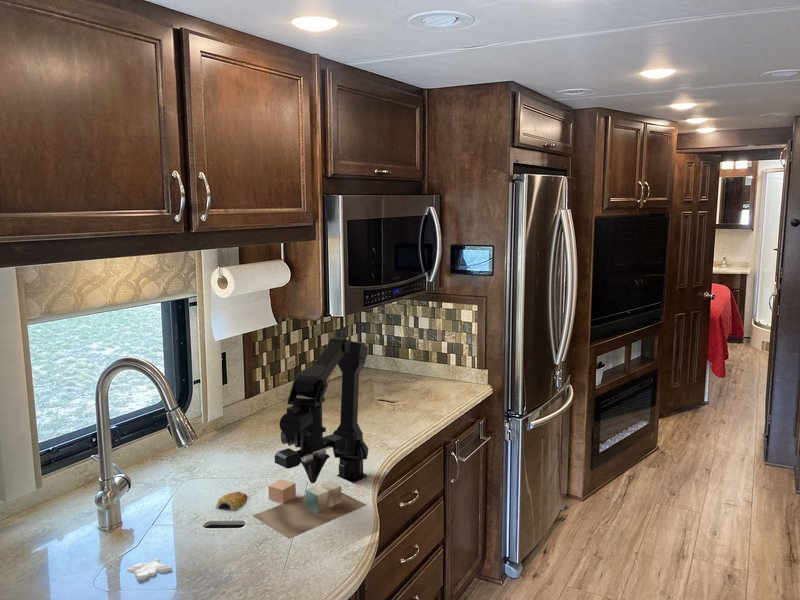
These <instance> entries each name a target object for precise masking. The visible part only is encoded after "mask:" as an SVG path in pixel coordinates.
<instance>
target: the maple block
mask: <svg viewBox="0 0 800 600" xmlns="http://www.w3.org/2000/svg"><path fill="white" fill-rule="evenodd" d="M341 492H342V485H340V484H338V483H336V482H334V481H332V480H329V481H327V482H324V483H321V484H318V485H315V486H313V487H310V488H308V489H306V490H305V495H306V507H307V508H309V509H311V510H313V511H315V512H316V513H317V512H320V511H322V510H324V509H327V508H329V507H332V506H334V505H336V504H339V503H341Z"/></svg>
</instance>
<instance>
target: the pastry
mask: <svg viewBox="0 0 800 600" xmlns="http://www.w3.org/2000/svg"><path fill="white" fill-rule="evenodd" d="M247 495H248V494H246V493H244V492H241V491H235V492H231V493H227V494H224V495H222V497H220V498H218V499H217V502H216V505H215V506H214V509H217V510H219V509H220V510H222V509H223V510H226V509H227V510H228V509H230V511H237V510H238V509H240V508H242V507H243V506H244V505H245V503H246V501H247V499H248V496H247Z"/></svg>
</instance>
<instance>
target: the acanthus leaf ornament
mask: <svg viewBox="0 0 800 600" xmlns="http://www.w3.org/2000/svg"><path fill="white" fill-rule="evenodd" d="M160 562H161V560H160V559H159V558H156V557H155V558H154V559H153V560H152V561H151V562H146V563H145V562H143V563H142V562H141V563H136V564H134V565H132V567H128V568H127V569H126V571H127V572H130V573H134V575H135V576H136V577H135V578H138V581H140V582H141V580H142V581H145V580H146V578H147V579H149V578H150V577H151V576H152V577H154V575H155V574H157V573H160V574H164V572H165V573H168V572H172V571H173V567H172V566H168V564H166V563H165V564H164V563H160ZM155 576H156V575H155ZM148 577H149V578H148Z"/></svg>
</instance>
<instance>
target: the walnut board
mask: <svg viewBox="0 0 800 600" xmlns="http://www.w3.org/2000/svg"><path fill="white" fill-rule="evenodd" d="M365 506H367V503H364V502H362V501H360V500H358V499H356V498H354V497H352V496H350V495H348V494H346V493H344V492H342V491H341V503H339V504H336V505H334V506H332V507H329V508H327V509H324V510H322V511H320V512H317V513H316V512H315V511H313V510H311V509H309V508H307V507H306V494H303V495H302V496H299V497H297V498H296V497H295V498H293V499H291V500H289V501H287V502H285V503H284V504H283V503H280V504H279V505H276V506H273V507H270V508H269V509H266V510H264V511H261V512H258V513H256V514H253V515H252V517H254V518H255V519H257V520H258V521H260V522H261V523H263V524H265V525H266V526H268V527H269V528H271V529H272V530H274V531H276V532H278V533H279V534H281V535H282V536H284V537H285V538H287V539H292V538H294V537H297V536H299V535H301V534H304V533H305V532H308V531H311V530H313V529H315V528H317V527H319V526H323V525H324V524H327V523H329V522H331V521H333V520H336V519H338V518H340V517H342V516H345V515H347V514H349V513H352V512H354V511H356V510H358V509H361V508H363V507H365Z"/></svg>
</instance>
